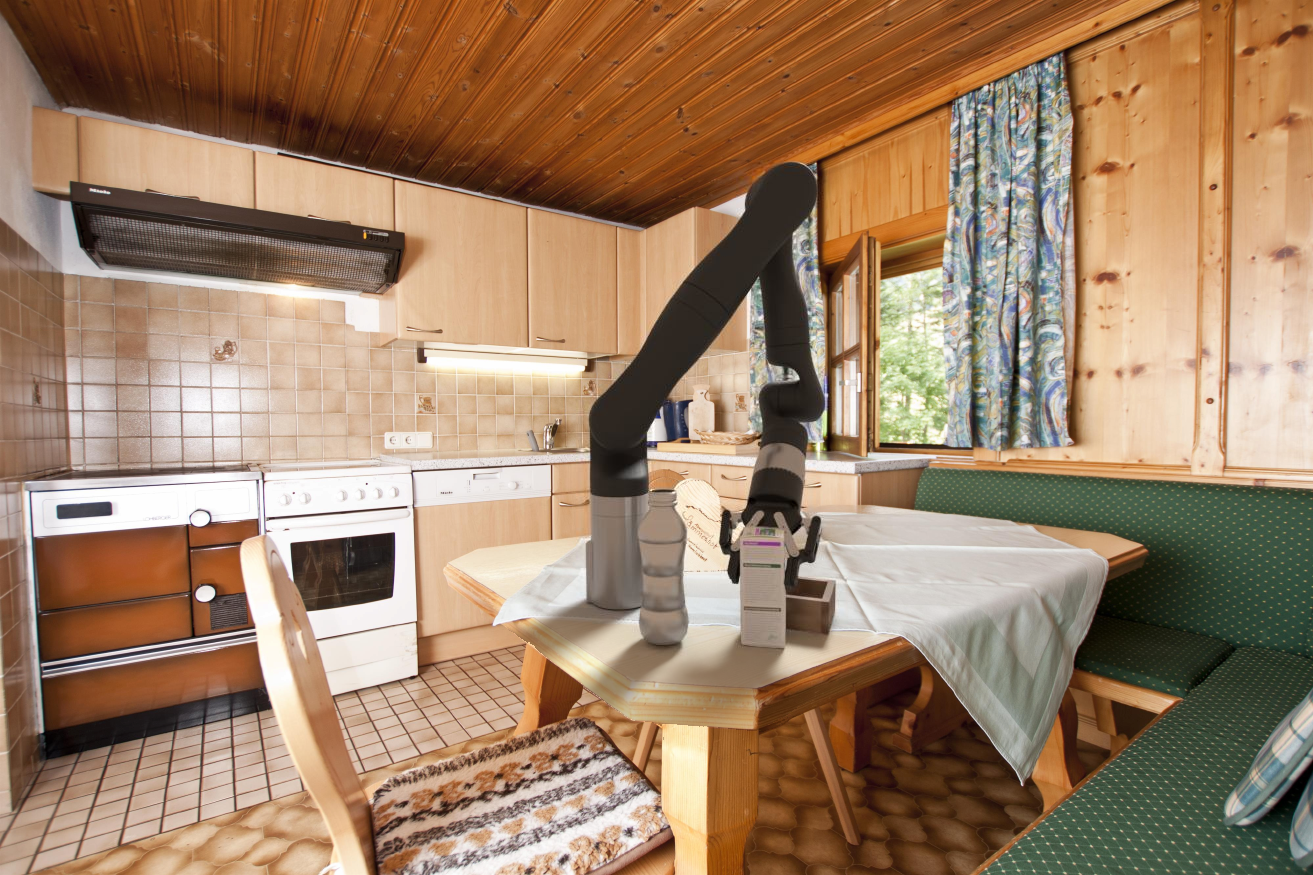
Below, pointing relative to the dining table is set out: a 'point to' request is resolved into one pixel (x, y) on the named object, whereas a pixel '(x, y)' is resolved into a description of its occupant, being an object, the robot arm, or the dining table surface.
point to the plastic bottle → (663, 570)
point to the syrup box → (762, 587)
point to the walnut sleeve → (811, 605)
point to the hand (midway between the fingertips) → (760, 583)
